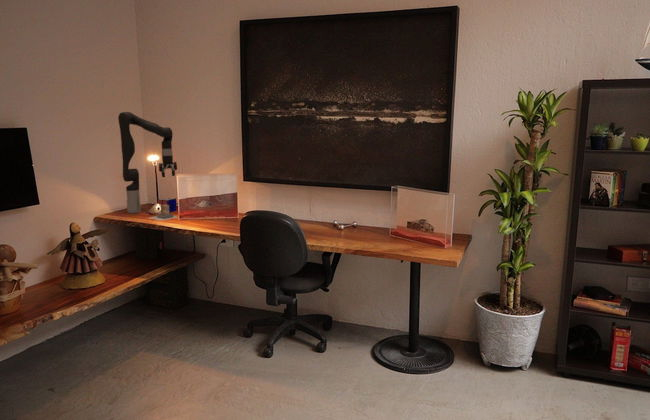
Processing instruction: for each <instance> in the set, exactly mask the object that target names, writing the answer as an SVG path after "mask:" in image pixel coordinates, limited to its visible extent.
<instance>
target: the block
mask: <svg viewBox="0 0 650 420" xmlns="http://www.w3.org/2000/svg"><path fill="white" fill-rule="evenodd" d="M160 214H161V215H169V214H170V213H169V205H166V204H165V205H161V212H160Z"/></svg>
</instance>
